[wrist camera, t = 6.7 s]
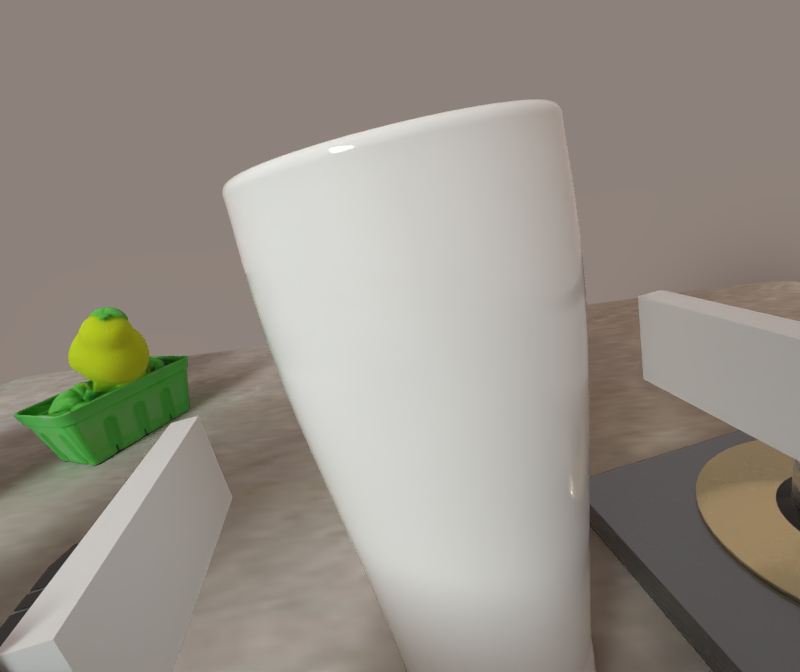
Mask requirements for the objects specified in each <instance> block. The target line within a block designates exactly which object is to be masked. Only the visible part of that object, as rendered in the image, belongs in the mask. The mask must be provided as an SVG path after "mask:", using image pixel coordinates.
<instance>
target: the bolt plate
mask: <svg viewBox="0 0 800 672" xmlns="http://www.w3.org/2000/svg"><path fill="white" fill-rule="evenodd" d="M590 526H591V527H592V528H593V529H594V530H595V531H596V533H597V534H598V535H599V536H600V537H601V539H602V540H603V541H604V542H605V543H606V544H607V546H608V547H609V548H610V549H611V550H612V552H613V553H614V554H615V555H616V556H617V557H618V559H619V560H620V561H621V562H622V563H623V565H624V566H625V567H626V568H627V569H628V570H629V572H630V573H631V574H632V575H633V576H634V578H635V579H636V580H637V581H638V582H639V583H640V585H641V586H642V587H643V588H644V589H645V591H646V592H647V593H648V594H649V595H650V597H651V598H652V599H653V600H654V601H655V602H656V604H657V605H658V606H659V607H660V608H661V610H662V611H663V612H664V613H665V614H666V615H667V617H668V618H669V619H670V620H671V621H672V623H673V624H674V625H675V626H676V627H677V628H678V630H679V631H680V632H681V633H682V634H683V636H684V637H685V638H686V639H687V640H688V641H689V643H690V644H691V645H692V646H693V647H694V649H695V650H696V651H697V652H698V653H699V654H700V656H701V657H702V658H703V659H704V660H705V662H706V663H707V664H708V665H709V666H710V667H711V669H712V670H713V671H714V672H800V462H799V461H798V460H796V459H794V458H792V457H790V456H788V455H786V454H784V453H782V452H781V451H779V450H777V449H775V448H773V447H771V446H769V445H767V444H765V443H763V442H762V441H760V440H758V439H756V438H754V437H752V436H750V435H748V434H746V433H745V432H743V431H741V430H739V431H736V432H733V433H730V434H726V435H723V436H720V437H717V438H714V439H710V440H707V441H704V442H701V443H697V444H694V445H691V446H688V447H685V448H681V449H678V450H675V451H672V452H669V453H665V454H662V455H659V456H656V457H652V458H649V459H646V460H643V461H640V462H636V463H633V464H630V465H627V466H623V467H620V468H617V469H614V470H611V471H607V472H604V473H601V474H598V475H595V476H591V477H590Z"/></svg>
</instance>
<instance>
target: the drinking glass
mask: <svg viewBox="0 0 800 672" xmlns="http://www.w3.org/2000/svg"><path fill="white" fill-rule="evenodd" d="M222 193H223V198H224V201H225V204H226V207H227V211H228V214H229V218H230V221H231V225H232V228H233V232H234V236H235V240H236V243H237V247H238V251H239V254H240V258H241V261H242V264H243V268H244V272H245V275H246V278H247V282H248V285H249V288H250V291H251V295H252V298H253V301H254V304H255V308H256V311H257V314H258V317H259V320H260V323H261V326H262V329H263V332H264V335H265V337H266V341H267V343H268V346H269V349H270V352H271V355H272V358H273V360H274V363H275V366H276V368H277V371H278V374H279V376H280V379H281V382H282V384H283V387H284V389H285V392H286V394H287V397H288V399H289V402H290V404H291V407H292V409H293V412H294V414H295V416H296V418H297V421H298V423H299V425H300V428H301V430H302V432H303V435H304V437H305V439H306V442H307V444H308V446H309V448H310V451H311V453H312V455H313V457H314V460H315V462H316V464H317V466H318V468H319V471H320V473H321V475H322V477H323V480H324V482H325V484H326V486H327V489H328V491H329V493H330V495H331V498H332V500H333V502H334V504H335V506H336V509H337V511H338V513H339V515H340V518H341V520H342V522H343V524H344V527H345V529H346V531H347V533H348V535H349V538H350V540H351V542H352V544H353V547H354V549H355V551H356V553H357V556H358V558H359V560H360V563H361V565H362V567H363V569H364V572H365V574H366V576H367V578H368V581H369V583H370V585H371V587H372V590H373V592H374V594H375V597H376V599H377V601H378V603H379V606H380V608H381V610H382V613H383V615H384V617H385V619H386V622H387V624H388V626H389V629H390V631H391V633H392V636H393V638H394V640H395V643H396V645H397V647H398V650H399V652H400V654H401V657H402V659H403V662H404V664H405V667H406V670H407V672H596V665H595V657H594V649H593V641H592V633H591V596H590V448H589V346H588V320H587V304H586V290H585V278H584V269H583V268H584V267H583V257H582V249H581V239H580V230H579V222H578V214H577V207H576V200H575V193H574V186H573V180H572V173H571V167H570V161H569V155H568V149H567V143H566V137H565V132H564V123H563V114H562V110H561V108H560V106H559V105H558V104H557V103H555V102H553V101H549V100H539V99H538V100H537V99H536V100H535V99H533V100H518V101H509V102H501V103H493V104H487V105H480V106H475V107H469V108H463V109H458V110H453V111H448V112H443V113H438V114H433V115H429V116H424V117H419V118H415V119H411V120H406V121H402V122H398V123H394V124H390V125H386V126H382V127H378V128H374V129H370V130H366V131H362V132H359V133H355V134H351V135H348V136H344V137H340V138H337V139H334V140H330V141H327V142H323V143H320V144H317V145H313V146H310V147H307V148H304V149H301V150H298V151H295V152H292V153H289V154H286V155H283V156H280V157H277V158H275V159H272V160H269V161H267V162H264V163H261V164H259V165H257V166H254V167H252V168H250V169H248V170H245V171H243V172H241V173H239V174H238V175H236V176H234V177H233V178H231V179H230V180H229V181H228V182H227V183H226V184H225V185H224V187H223V192H222Z"/></svg>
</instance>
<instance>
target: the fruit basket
mask: <svg viewBox="0 0 800 672" xmlns="http://www.w3.org/2000/svg"><path fill="white" fill-rule="evenodd" d="M68 358H69V365H70V367H71V368H73V369H74V370H75V371H77V372H79V373H80V374H81V375H83V376H85V377H86V378H88V379H89V380H90V381H88V382H81V383H78V384H76V385H75V386H74V387H73V388H72V389H69V390H67V391H64V392H62V393H60V394H58V395H56V396H53V397H51V398H49V399H46V400H44V401H42V402H40V403H38V404H35V405H33V406H30V407H28V408H26V409H23V410H21V411H19V412H17V413H16V414H15V415H14V417H15V418H16V419H17V420H18V421H19V422H21V423H22V424H23V425H26V426H28V427H29V428H30V429H31V430H32V431H33V432H34V433H35V434H36V435H37V436H38V437H39V438H40V439H41V440H42V441H43V442H44V443H45V444H46V445H47V446H48V447H49V448H50V449H51V450H52V451H53V452H54V453H55V454H56V455H57V456H59V457H60V458H61V459H62V460H63V461H71V462H75V463H81V464H88V463H90V464H91V465H98V464H99V463H101V462H103V461H104V460H106V459H108V458H109V457H111V456H113V455H114V454H115V453H117V452H118V451H120V450H122V449H124V448H126V447H128V446H129V445H131V444H133V443H134V442H136V441H138V440H140V439H141V438H143V437H144V436H145V435H146V434H149V433H151V432H153V431H155V430H156V429H158V428H160V427H161V426H163V425H165V424H166V423H168V422H169V421H170V420H171V419H174V418H176V417H178V416H179V415H181V414H183V413H185V412H186V411H188V410H189V395H188V382H187V369H186V368H187V366H188V357H187V356H180V357H179V356H159V357H150V356H149V350H148V346H147V343H146V342H145V340H144V338H143V337H142V335H141V334H140V333H139V332H137V331H136V330H135V329H133V327H132V326H131V324H130V323H129V322H128V318H127V316H126V314H124V313H123V312H122V311H120V310H119V309H116V308H100V309H97V310H95V311H93V312H92V313H91V314H90V317H89V318H88V319H87V320H86V321H85V322H84V323H83V324H82V325H81V327H80V330H79V332H78V334H77V336H76V337H75V339H74V340H73V342H72V344H71V347H70V350H69V356H68Z"/></svg>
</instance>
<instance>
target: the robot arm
mask: <svg viewBox="0 0 800 672" xmlns="http://www.w3.org/2000/svg"><path fill="white" fill-rule="evenodd" d="M638 304H639V320H640V335H641V350H642V365H643V379H644V380H646V381H648V382H650V383H652V384H654V385H656V386H657V387H659V388H661V389H663V390H665V391H667V392H669V393H671V394H673V395H674V396H676V397H678V398H680V399H682V400H684V401H686V402H688V403H690V404H692V405H693V406H695V407H697V408H699V409H701V410H703V411H705V412H707V413H709V414H710V415H712V416H714V417H716V418H718V419H720V420H722V421H724V422H726V423H727V424H729V425H731V426H733V427H735V428H737V429H739V430H741V431H743V432H745V433H746V434H748V435H750V436H752V437H754V438H756V439H758V440H760V441H762V442H763V443H765V444H767V445H769V446H771V447H773V448H775V449H777V450H779V451H781V452H782V453H784V454H786V455H788V456H790V457H792V458H794V459H796V460H798V461H799V462H800V321H795V320H791V319H787V318H782V317H778V316H774V315H769V314H765V313H761V312H756V311H752V310H747V309H743V308H739V307H734V306H730V305H726V304H721V303H717V302H713V301H708V300H704V299H700V298H695V297H691V296H686V295H682V294H678V293H673V292H669V291H665V290H659V291H655V292H651V293H648V294H644V295H641V296H638ZM231 501H232V495H231V493H230V490H229V488H228V486H227V483H226V481H225V478H224V476H223V473H222V471H221V468H220V466H219V464H218V461H217V459H216V456H215V454H214V451H213V449H212V446H211V444H210V442H209V439H208V437H207V434H206V432H205V429H204V427H203V425H202V422H201V420H200V417H199V416H195V417H191V418H188V419H184V420H180V421H177V422H173V423H170V425H169V426H168V427H167V429H166V430H165V431H164V433H163V434H162V435H161V437H160V438H159V439H158V441H157V442H156V443H155V444H154V446H153V447H152V448H151V450H150V451H149V452H148V454H147V455H146V456H145V458H144V459H143V460H142V462H141V463H140V464H139V465H138V467H137V468H136V469H135V471H134V472H133V473H132V475H131V476H130V477H129V479H128V480H127V481H126V483H125V484H124V485H123V486H122V488H121V489H120V490H119V492H118V493H117V494H116V496H115V497H114V498H113V500H112V501H111V502H110V504H109V505H108V506H107V507H106V509H105V510H104V511H103V513H102V514H101V515H100V517H99V518H98V519H97V521H96V522H95V523H94V525H93V526H92V527H91V528H90V530H89V531H88V532H87V534H86V535H85V536H84V538H83V539H82V540H81V542H80V543H78V544H75V545H74V546H73V547H71V548H70V549H69V550H68V551H67V552H66V553H64V554H63V555H62V556H61V557H60V558H59V559H58V560H56V561H55V562H54V563H53V564H52V565H51V566H49V568H48V569H47V570H46V571H45V573H44V574H43V575H42V576H41V578H40V579H39V580H38V581H37V583H36V584H35V585H34V586H33V588H32V589H31V590H30V591H31V594H29V595H26V596H25V598H24V599H23V600H22V602H21V603H20V604H19V605H18V607H17V608H16V609H15V610H14V611H15V614H14V615H11V616H10V617H9V618H8V619H7V620H6V622H5V623H4V624H3V625H2V627H1V628H0V672H173V670H174V667H175V664H176V661H177V658H178V655H179V652H180V649H181V646H182V643H183V640H184V638H185V635H186V632H187V629H188V626H189V623H190V620H191V617H192V614H193V611H194V609H195V606H196V603H197V600H198V597H199V594H200V591H201V588H202V585H203V582H204V579H205V577H206V574H207V571H208V568H209V565H210V562H211V559H212V556H213V553H214V550H215V547H216V545H217V542H218V539H219V536H220V533H221V530H222V527H223V524H224V521H225V518H226V515H227V513H228V510H229V507H230V504H231Z"/></svg>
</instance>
